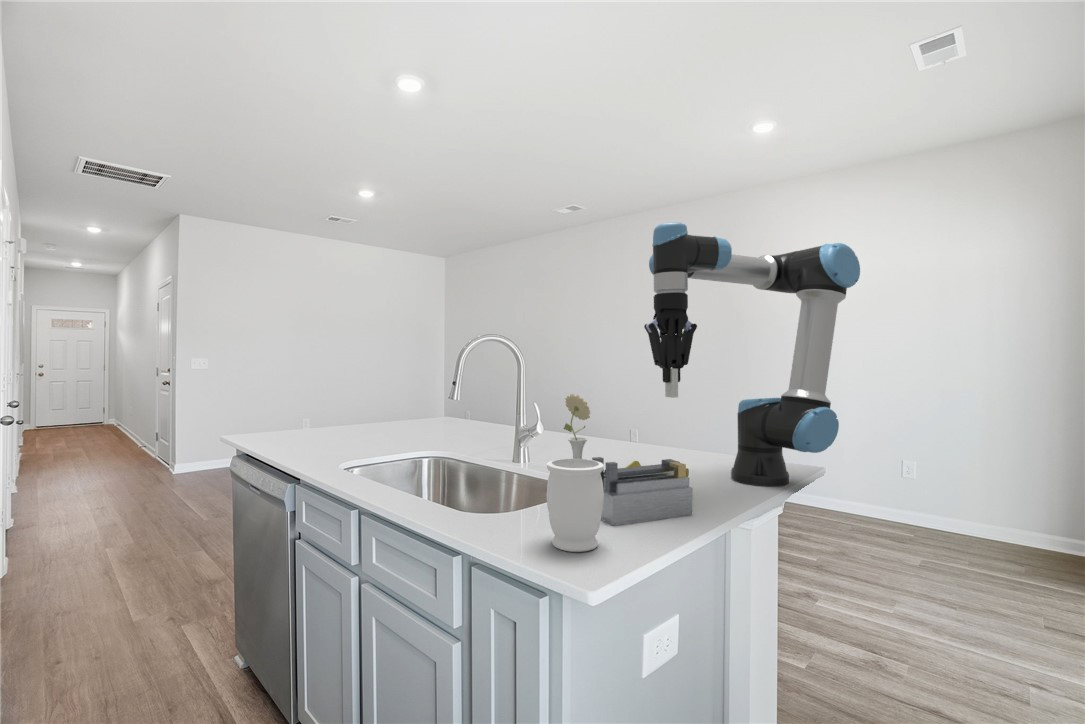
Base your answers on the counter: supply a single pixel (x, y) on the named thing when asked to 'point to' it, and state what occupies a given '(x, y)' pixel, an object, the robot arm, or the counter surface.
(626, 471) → the dark grey flat bar
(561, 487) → the jar
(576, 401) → the flower in vase
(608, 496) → the heatsink block
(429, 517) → the counter surface
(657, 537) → the counter surface
